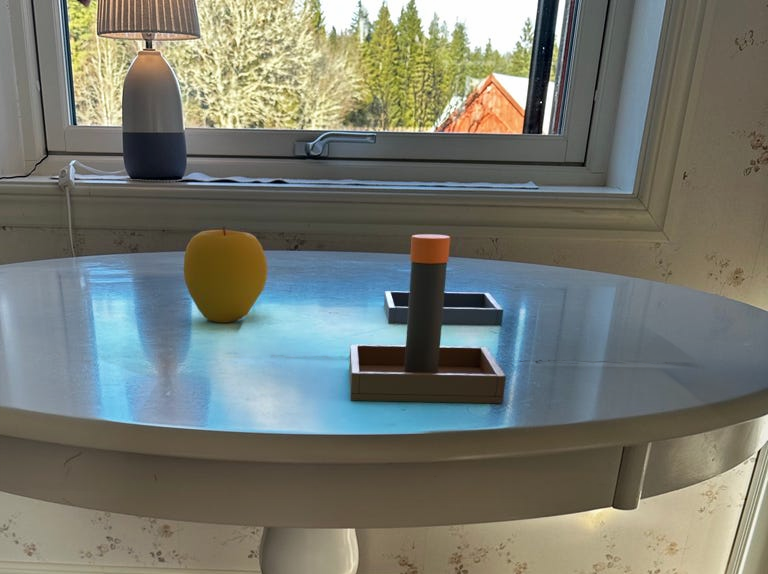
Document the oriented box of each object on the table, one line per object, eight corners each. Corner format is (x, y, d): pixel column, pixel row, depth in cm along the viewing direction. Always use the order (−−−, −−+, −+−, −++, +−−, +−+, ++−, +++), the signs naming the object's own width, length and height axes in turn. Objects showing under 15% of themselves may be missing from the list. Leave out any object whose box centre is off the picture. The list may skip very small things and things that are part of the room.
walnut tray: (484, 371, 79) (487, 346, 78) (503, 403, 70) (506, 376, 69) (349, 368, 79) (350, 344, 78) (350, 400, 70) (351, 373, 70)
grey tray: (487, 312, 103) (489, 292, 102) (501, 330, 94) (503, 309, 93) (383, 310, 104) (384, 291, 103) (387, 328, 95) (389, 307, 94)
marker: (436, 374, 76) (448, 234, 71) (440, 383, 73) (452, 238, 68) (401, 374, 76) (410, 233, 71) (403, 382, 73) (413, 238, 68)
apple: (285, 321, 98) (285, 227, 93) (217, 331, 93) (214, 233, 89) (235, 309, 103) (234, 220, 99) (169, 318, 99) (164, 225, 94)
